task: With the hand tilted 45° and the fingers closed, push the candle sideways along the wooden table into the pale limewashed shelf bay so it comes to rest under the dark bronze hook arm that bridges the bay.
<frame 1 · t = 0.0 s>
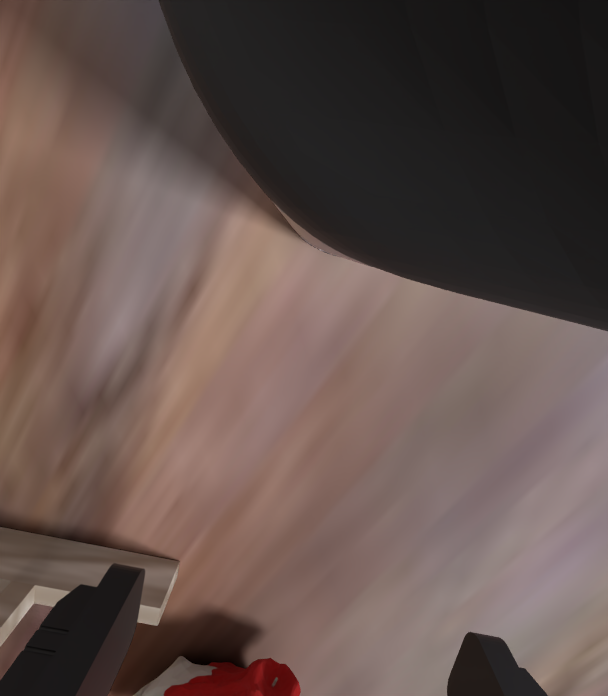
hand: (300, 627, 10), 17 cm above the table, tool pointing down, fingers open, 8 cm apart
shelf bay: (51, 646, 32), on the table
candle: (221, 673, 33), on the table
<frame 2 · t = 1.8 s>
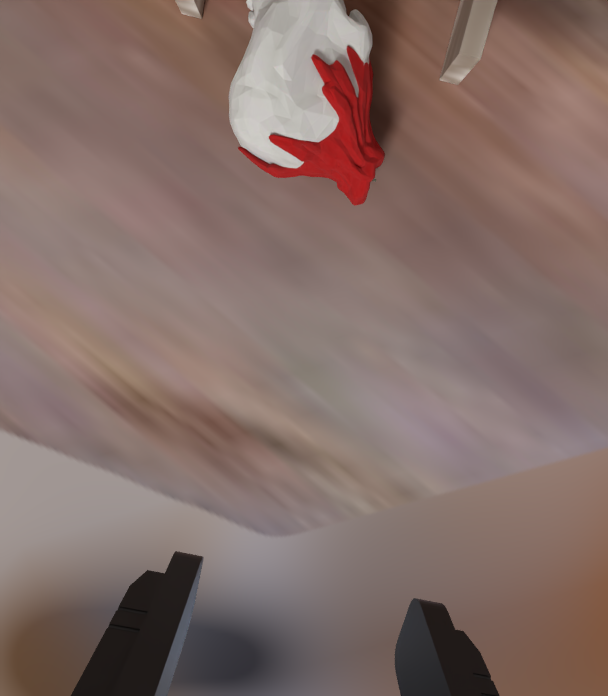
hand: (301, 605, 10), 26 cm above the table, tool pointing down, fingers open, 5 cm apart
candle: (307, 122, 31), on the table
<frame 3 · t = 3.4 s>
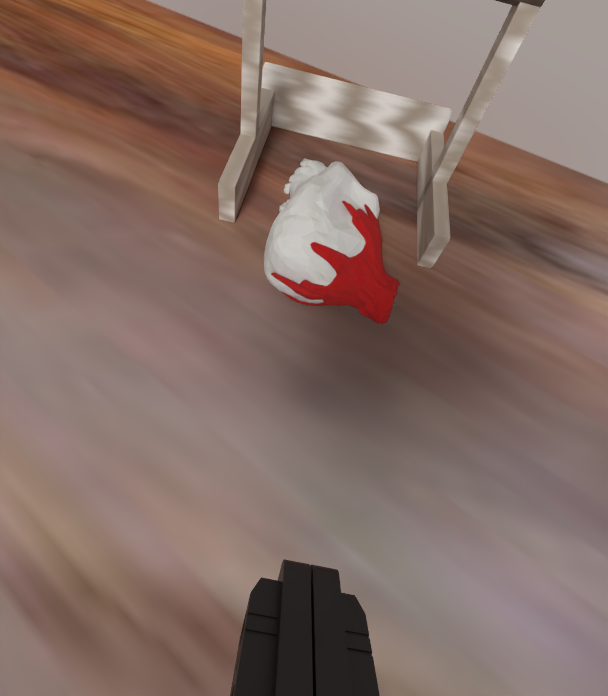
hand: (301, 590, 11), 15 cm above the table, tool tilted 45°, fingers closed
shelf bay: (336, 188, 43), on the table
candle: (319, 283, 36), on the table
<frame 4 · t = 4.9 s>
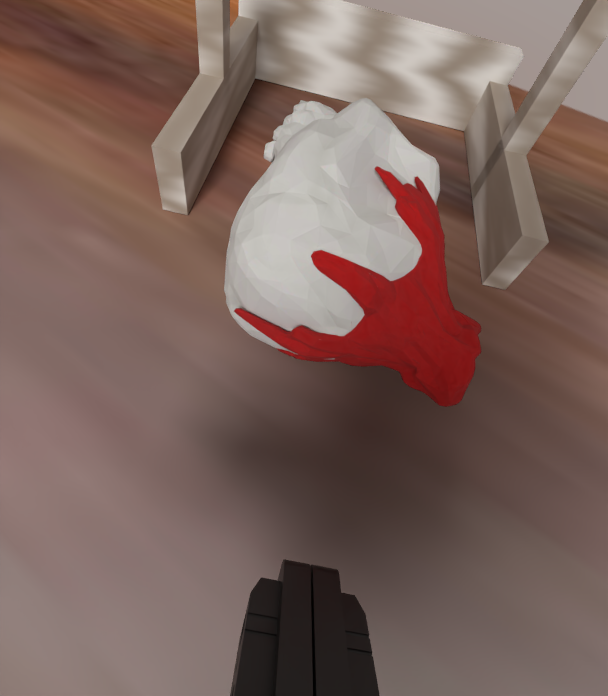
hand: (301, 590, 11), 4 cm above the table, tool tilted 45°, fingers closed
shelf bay: (351, 165, 29), on the table
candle: (326, 317, 21), on the table
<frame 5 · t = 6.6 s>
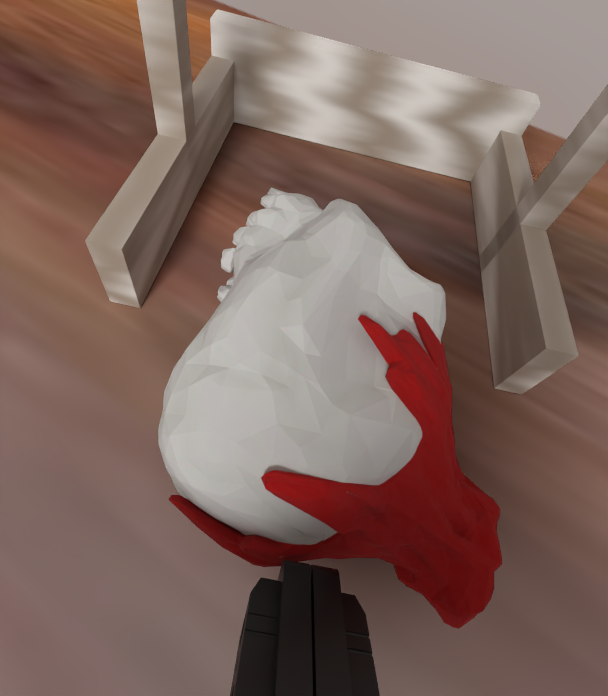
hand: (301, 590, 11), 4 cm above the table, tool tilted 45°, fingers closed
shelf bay: (340, 231, 25), on the table
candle: (304, 443, 17), on the table, touching gripper
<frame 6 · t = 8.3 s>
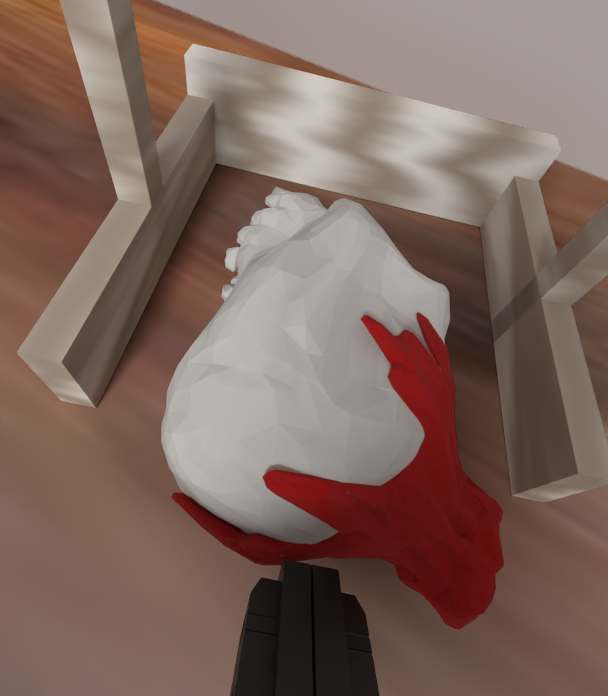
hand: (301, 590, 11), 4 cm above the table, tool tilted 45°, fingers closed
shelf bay: (333, 295, 22), on the table
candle: (307, 442, 18), on the table, touching gripper
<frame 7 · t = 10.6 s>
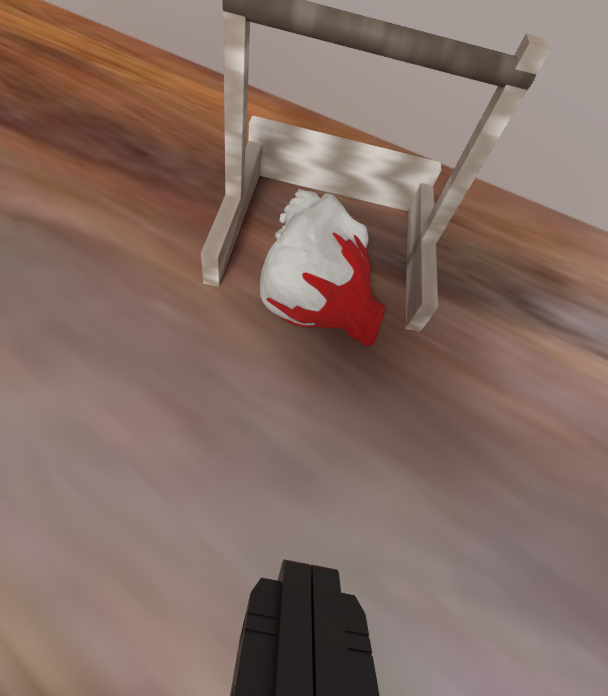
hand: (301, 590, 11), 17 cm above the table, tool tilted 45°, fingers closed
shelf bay: (325, 244, 43), on the table
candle: (312, 305, 38), on the table
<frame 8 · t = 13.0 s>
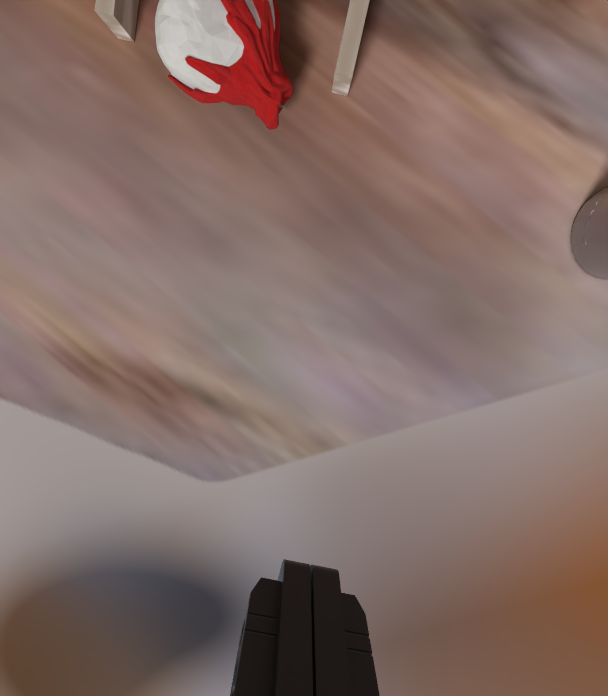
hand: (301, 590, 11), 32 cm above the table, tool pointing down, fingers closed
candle: (234, 61, 36), on the table
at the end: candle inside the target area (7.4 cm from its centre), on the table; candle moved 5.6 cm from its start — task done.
